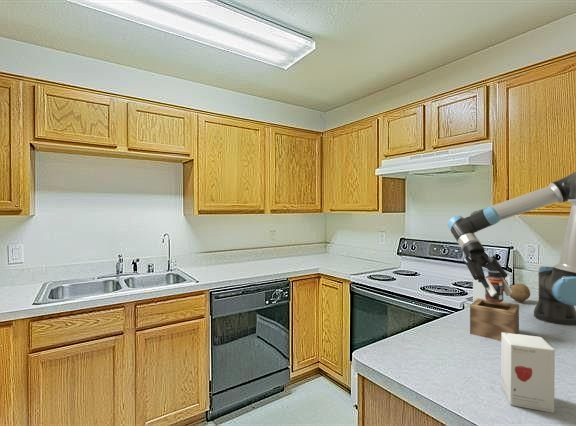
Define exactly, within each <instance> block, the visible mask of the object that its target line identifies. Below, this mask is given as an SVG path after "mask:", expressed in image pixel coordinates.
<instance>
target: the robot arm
mask: <svg viewBox="0 0 576 426" xmlns="http://www.w3.org/2000/svg"><path fill="white" fill-rule="evenodd" d="M566 202H568V203H569V204H570V205H571V206H570V207H571V208H570V212H569V217H568V222H567V224H566V230H565V235H564V239H563V244H562V247H561V252H560V253H561V254H560V257H559V262H558V263H556V264H555V265H553V266H543V265H542V266H539V268H538V273H537V275H538V301H537V303H536V305H535V306H534V309H533V317H535V318H536V319H538V320H541V321H544V322H546V323H551V324H559V325H567V326H571V325H573V326H574V325H576V308H575V307H576V171H575V172H573V173H571V174H569V175H567V176H563V178H560V179H558V180H555V181H552V182H550V183H549V185H547V186H546V187H542V188H540V189H536V190H534V191H531V192H528V193H525V194H522V195H519V196H516V197H513V198H511V199H508V200H505V201H502V202H499V203H496V204H493V205H491V206H488V207H485V208H482V209H479V210H474V211H472V212H471V213H470V215H469V216H466V217H463V216H462V215H457V216H455V215H454V216H453V217H451V218H449V220H448V221H447V227H448V229H449V231H450V232H451V234H452V235H453V237H454V239H455V240H456V242H457V244H458V246H459V247H460V249H461V250H462V252H463V254H464V255H465V258H464V259H462V262H463V263H464V264H465V265H466V266H467V269H468V270H469V272H470V274H471V276H472V278H473V280H478V282H481V283H482V284H483V286H484V287H485V288H486V289H487V290H488V292H489V294H490V295H491V297H493V296H494V295H495V294H496V293H497V292H496V290H495V289H494V287H493V286H492V284H491V282H490V281H489V279H488V278H486V276H485V273H484V269H487V270H488V271H499V272H500V276H501V278H503V293H504V294H505V295H506V297H508V296H509V295H510V294H511V293H512V290H511V287H510V286H509V285H510V284H509V283H508V282H507V279H506V278H507V277H508V276H509V275H508V273H507V272H506V270H505V269H504V268H503V266H501V264H500V263H499V261H498V260H497V258H496V256H495V255H492V256H489V255H488V254H487V253H486V250H485V248H484V245H482V243H481V241H480V240H479V238H478V236H476V233H477V232H480V231H482V230H484V229H486V228H489V227H491V226H494V225H496V224H498V223H499V222H500V221H502V220H505V219H509V218H511V217H515V216H518V215H521V214H524V213H527V212H531V211H534V210H536V209H540V208H543V207H546V206H548V205H551V204H555V203H558V204H562V203H566ZM483 268H484V269H483ZM509 297H510V296H509Z"/></svg>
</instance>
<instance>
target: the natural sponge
mask: <svg viewBox="0 0 576 426" xmlns="http://www.w3.org/2000/svg"><path fill="white" fill-rule="evenodd" d="M510 289H511V290H512V293H511V294H510V295H509V298H511V299H513V300H514V301H515V302H517V303H524V302H525V301H526V300H528V299H529V298H530V296H531V290H530V289H529V287H528V286H527V285H526V284H523V283H519V282H517V283H514V284H513V285H511V287H510Z"/></svg>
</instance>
